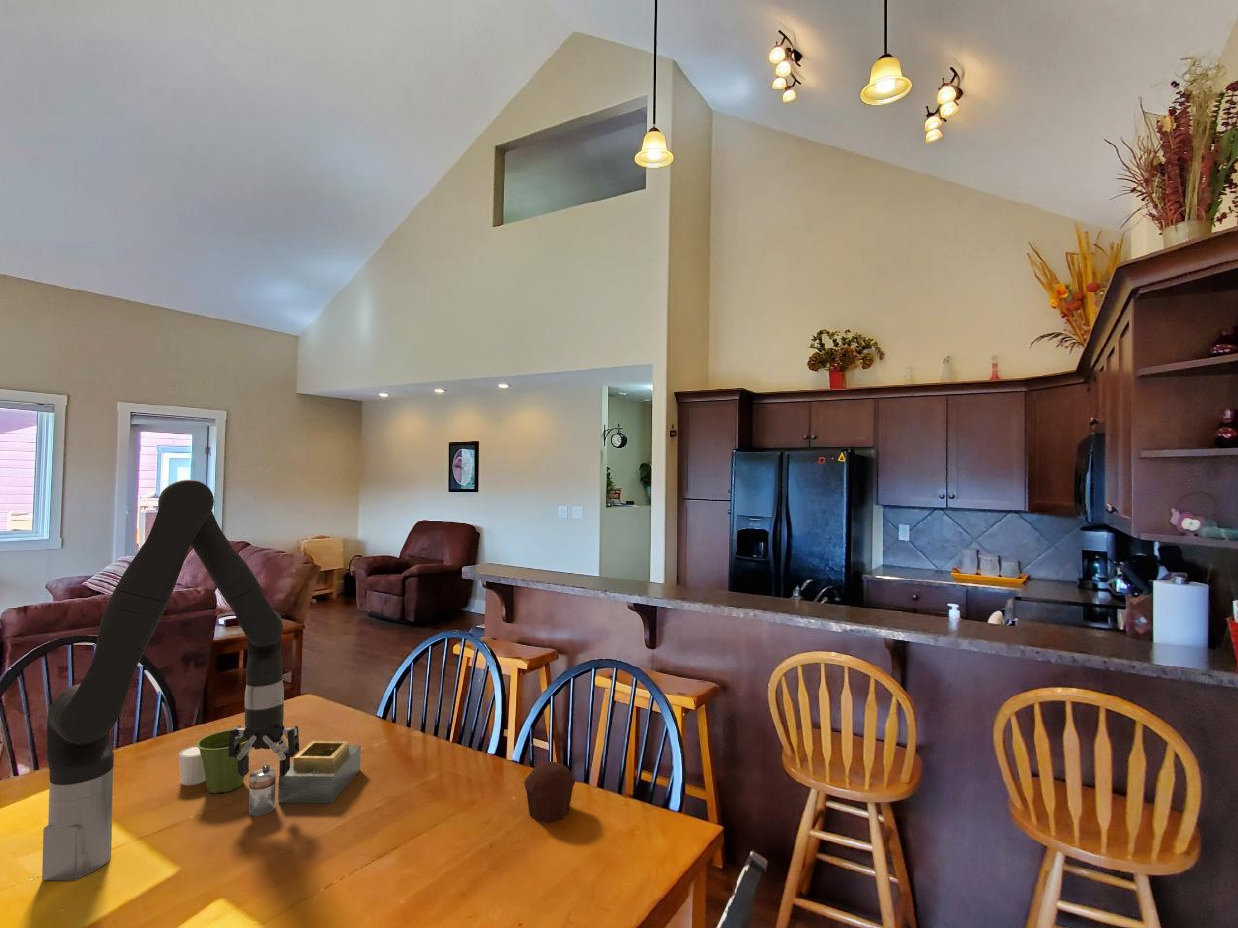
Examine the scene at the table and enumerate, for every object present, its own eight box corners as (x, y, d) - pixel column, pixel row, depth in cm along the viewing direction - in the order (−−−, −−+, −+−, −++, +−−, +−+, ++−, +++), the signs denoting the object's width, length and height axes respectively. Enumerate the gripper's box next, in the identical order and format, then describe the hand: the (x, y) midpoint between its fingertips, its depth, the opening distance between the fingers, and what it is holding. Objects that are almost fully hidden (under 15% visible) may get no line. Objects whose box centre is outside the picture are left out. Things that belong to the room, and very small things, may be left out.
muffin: (565, 829, 134) (566, 781, 134) (516, 822, 136) (516, 775, 136) (580, 800, 146) (580, 756, 146) (534, 794, 148) (535, 751, 148)
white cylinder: (199, 787, 148) (200, 757, 148) (170, 786, 148) (171, 756, 149) (218, 773, 155) (219, 744, 155) (191, 772, 155) (191, 743, 155)
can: (267, 816, 137) (268, 774, 137) (243, 815, 137) (244, 774, 137) (279, 803, 142) (280, 763, 142) (256, 803, 142) (257, 763, 142)
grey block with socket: (331, 803, 142) (332, 765, 142) (278, 802, 142) (279, 764, 142) (360, 768, 159) (361, 734, 159) (312, 767, 159) (313, 733, 159)
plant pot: (265, 775, 154) (266, 729, 154) (231, 801, 142) (232, 750, 143) (220, 772, 155) (221, 726, 156) (182, 797, 144) (183, 747, 144)
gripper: (221, 708, 136) (221, 783, 136) (288, 708, 136) (288, 783, 136) (241, 695, 143) (241, 766, 143) (305, 695, 144) (304, 766, 144)
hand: (264, 774), depth 140 cm, fingers open, 8 cm apart
